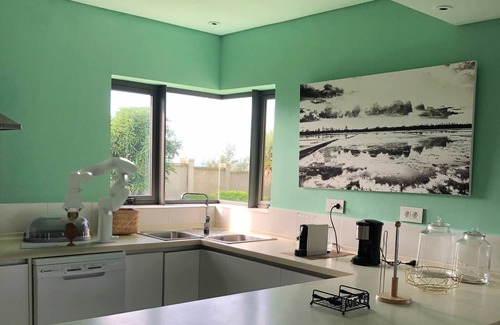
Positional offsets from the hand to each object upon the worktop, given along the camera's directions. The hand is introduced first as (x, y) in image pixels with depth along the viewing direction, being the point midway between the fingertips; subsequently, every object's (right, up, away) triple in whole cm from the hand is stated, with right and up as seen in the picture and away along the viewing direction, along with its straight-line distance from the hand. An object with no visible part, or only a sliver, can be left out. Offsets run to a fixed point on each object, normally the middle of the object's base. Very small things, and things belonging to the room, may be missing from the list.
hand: (72, 218), depth 329 cm
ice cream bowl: (-1, -18, -1) cm, 18 cm away
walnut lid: (0, -1, 0) cm, 1 cm away
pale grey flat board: (-19, -17, -8) cm, 26 cm away
